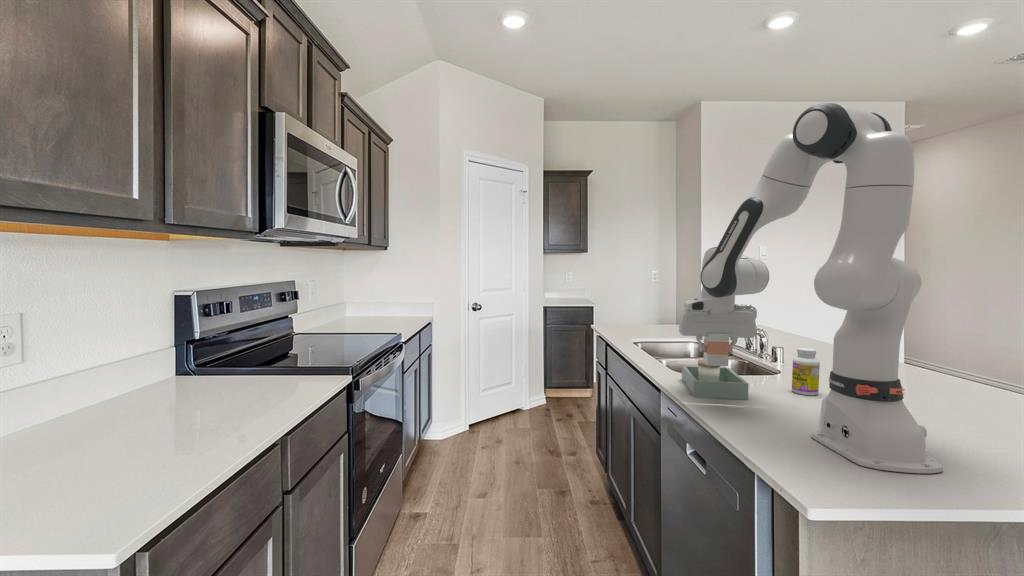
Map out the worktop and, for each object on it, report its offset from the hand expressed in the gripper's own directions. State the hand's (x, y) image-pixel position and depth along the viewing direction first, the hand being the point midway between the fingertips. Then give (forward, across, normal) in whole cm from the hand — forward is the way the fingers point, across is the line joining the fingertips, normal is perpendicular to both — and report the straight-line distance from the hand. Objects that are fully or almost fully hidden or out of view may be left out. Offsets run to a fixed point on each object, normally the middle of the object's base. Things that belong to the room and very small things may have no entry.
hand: (715, 352), depth 135 cm
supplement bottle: (+12, -26, -7) cm, 30 cm away
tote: (+12, 0, -4) cm, 13 cm away
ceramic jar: (+12, 0, -9) cm, 15 cm away
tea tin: (+3, 0, 0) cm, 3 cm away
